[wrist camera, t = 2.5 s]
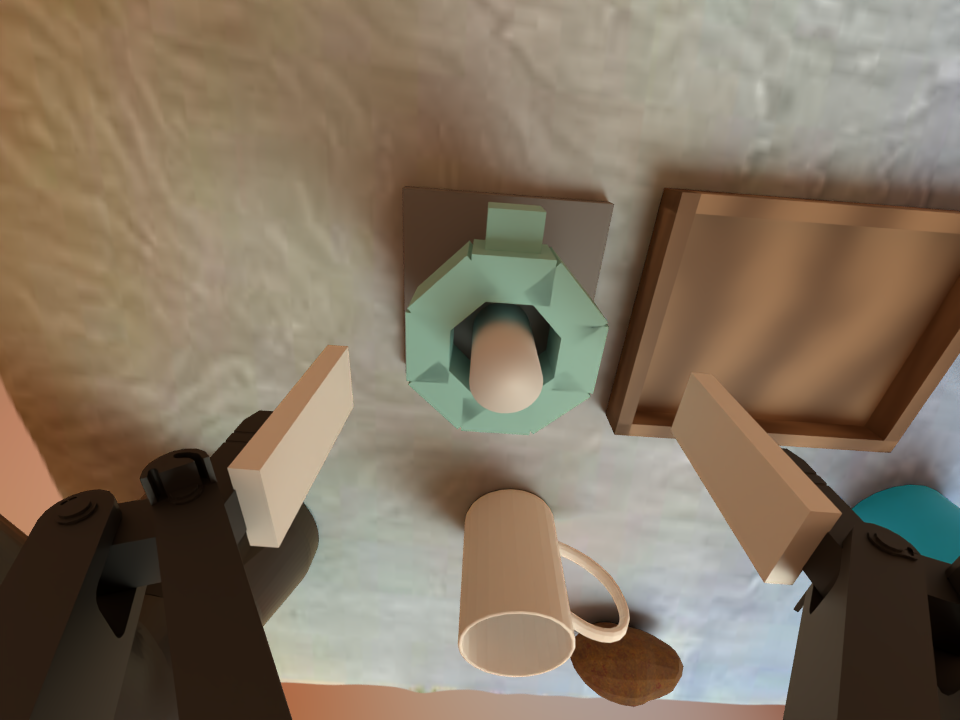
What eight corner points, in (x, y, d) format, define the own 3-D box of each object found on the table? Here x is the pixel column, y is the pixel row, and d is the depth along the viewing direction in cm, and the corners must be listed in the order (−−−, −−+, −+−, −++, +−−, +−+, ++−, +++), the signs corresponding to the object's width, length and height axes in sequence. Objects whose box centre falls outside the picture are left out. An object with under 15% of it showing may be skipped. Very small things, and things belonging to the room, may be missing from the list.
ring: (416, 395, 23) (407, 427, 21) (415, 196, 18) (403, 204, 16) (571, 405, 24) (582, 438, 21) (612, 211, 19) (633, 222, 16)
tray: (605, 414, 31) (614, 434, 29) (664, 187, 24) (682, 192, 21) (862, 431, 32) (890, 452, 29) (999, 213, 24) (1051, 220, 22)
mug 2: (881, 476, 34) (989, 566, 26) (965, 494, 35) (1092, 586, 27) (795, 566, 39) (865, 662, 32) (870, 580, 40) (954, 676, 33)
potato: (656, 649, 46) (682, 727, 40) (556, 640, 46) (566, 717, 39) (677, 614, 43) (709, 692, 37) (569, 604, 42) (583, 682, 36)
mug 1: (464, 547, 38) (457, 675, 29) (465, 485, 35) (457, 610, 26) (593, 551, 38) (627, 680, 29) (608, 490, 35) (652, 615, 26)
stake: (408, 366, 29) (366, 483, 19) (405, 186, 24) (345, 217, 14) (573, 377, 30) (618, 498, 19) (609, 202, 24) (699, 244, 14)
